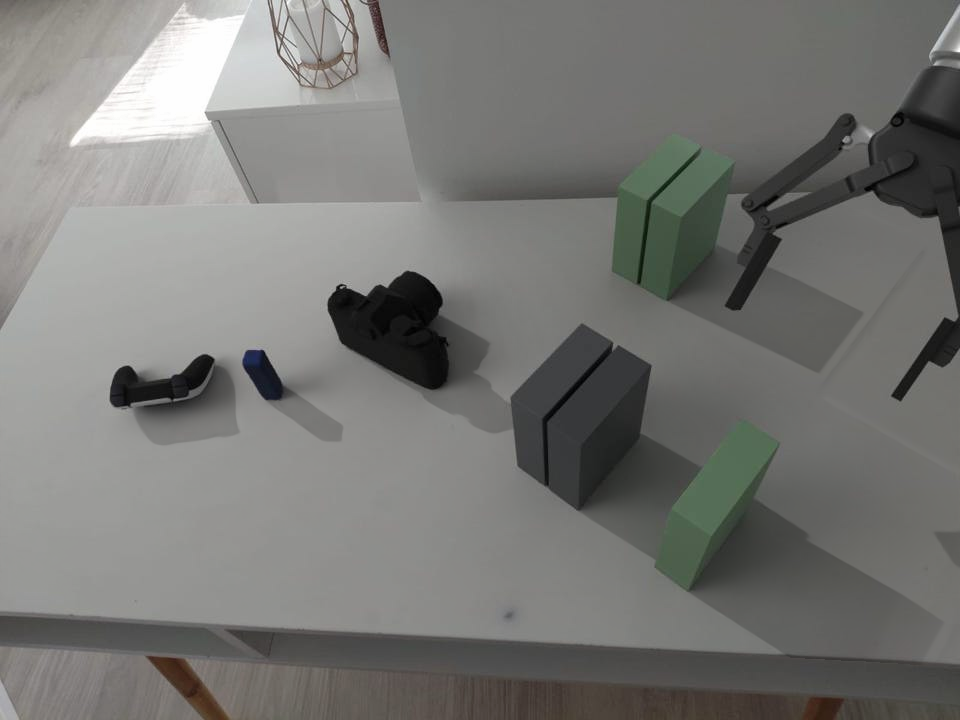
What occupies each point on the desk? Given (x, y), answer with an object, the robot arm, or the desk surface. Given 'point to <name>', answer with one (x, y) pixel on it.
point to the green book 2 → (685, 223)
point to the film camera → (395, 327)
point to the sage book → (714, 503)
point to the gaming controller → (160, 385)
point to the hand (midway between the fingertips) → (810, 351)
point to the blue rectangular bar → (262, 374)
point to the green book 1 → (645, 202)
